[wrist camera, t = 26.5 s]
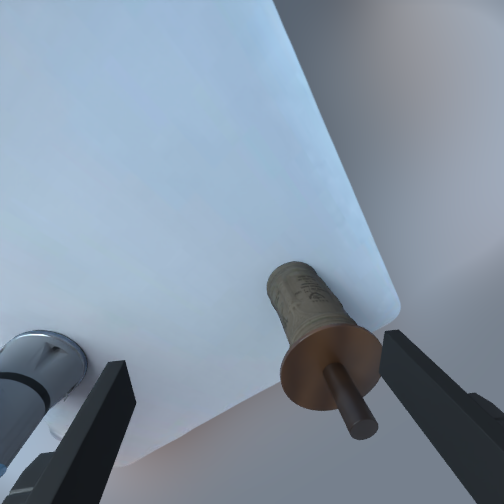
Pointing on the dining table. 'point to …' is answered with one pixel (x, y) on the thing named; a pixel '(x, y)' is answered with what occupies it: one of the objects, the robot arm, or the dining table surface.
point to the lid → (335, 373)
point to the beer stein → (303, 300)
